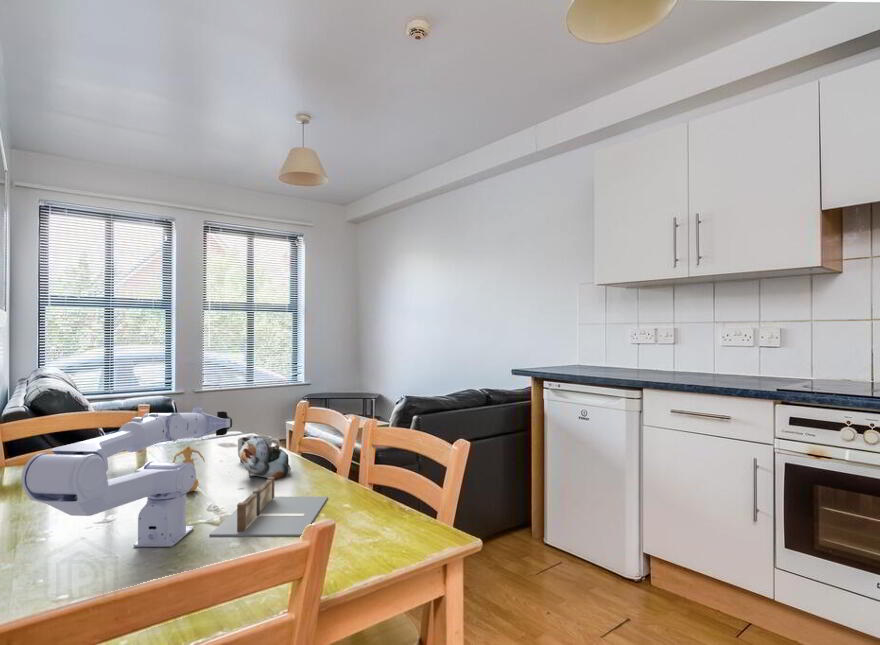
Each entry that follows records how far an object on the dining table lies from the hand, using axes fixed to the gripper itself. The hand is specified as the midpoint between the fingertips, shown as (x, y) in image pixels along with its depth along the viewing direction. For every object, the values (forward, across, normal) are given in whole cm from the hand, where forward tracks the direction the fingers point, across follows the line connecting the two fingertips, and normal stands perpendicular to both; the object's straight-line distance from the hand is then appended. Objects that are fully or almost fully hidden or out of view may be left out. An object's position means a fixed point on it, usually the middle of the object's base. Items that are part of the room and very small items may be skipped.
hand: (215, 423), depth 127 cm
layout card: (-4, -16, +22) cm, 28 cm away
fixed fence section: (-9, -13, +22) cm, 27 cm away
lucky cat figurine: (+27, -2, +16) cm, 32 cm away
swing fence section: (+1, -12, +20) cm, 24 cm away
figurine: (+12, +13, +18) cm, 25 cm away
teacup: (+42, +7, +13) cm, 45 cm away
